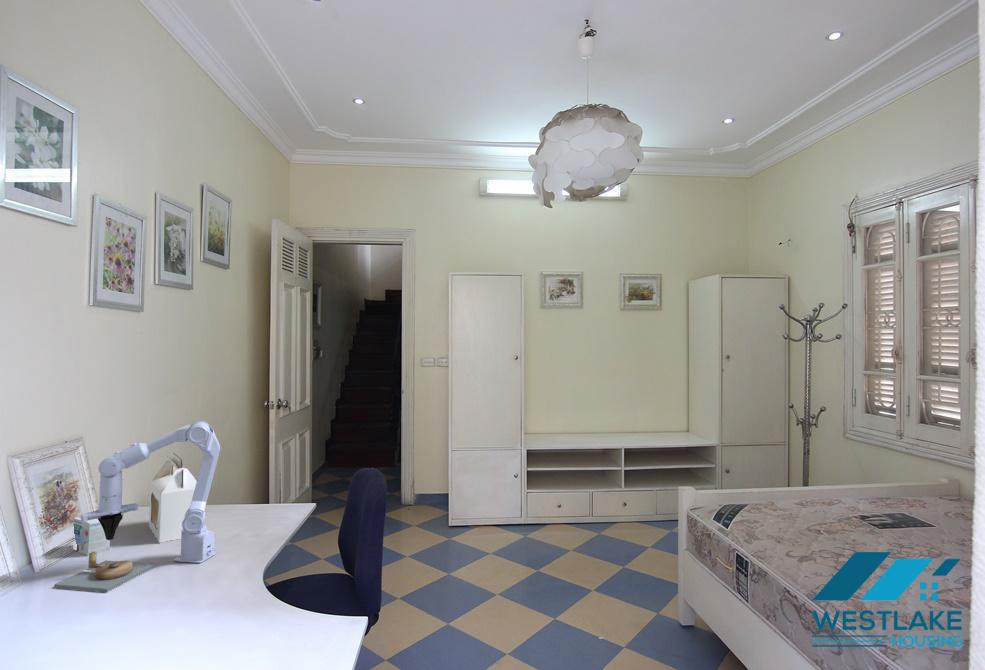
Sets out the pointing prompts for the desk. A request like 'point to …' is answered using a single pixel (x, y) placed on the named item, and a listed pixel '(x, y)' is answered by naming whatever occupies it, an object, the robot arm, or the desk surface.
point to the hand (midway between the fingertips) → (109, 539)
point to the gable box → (170, 499)
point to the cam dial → (109, 568)
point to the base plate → (90, 583)
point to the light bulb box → (90, 536)
